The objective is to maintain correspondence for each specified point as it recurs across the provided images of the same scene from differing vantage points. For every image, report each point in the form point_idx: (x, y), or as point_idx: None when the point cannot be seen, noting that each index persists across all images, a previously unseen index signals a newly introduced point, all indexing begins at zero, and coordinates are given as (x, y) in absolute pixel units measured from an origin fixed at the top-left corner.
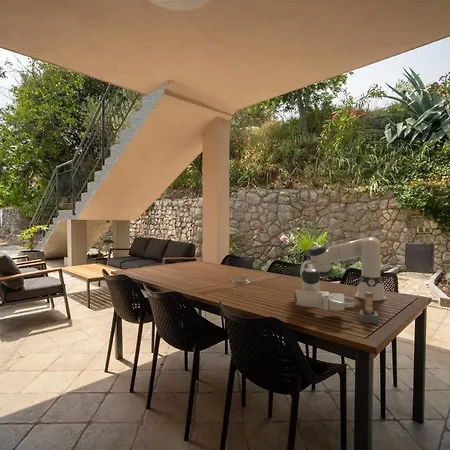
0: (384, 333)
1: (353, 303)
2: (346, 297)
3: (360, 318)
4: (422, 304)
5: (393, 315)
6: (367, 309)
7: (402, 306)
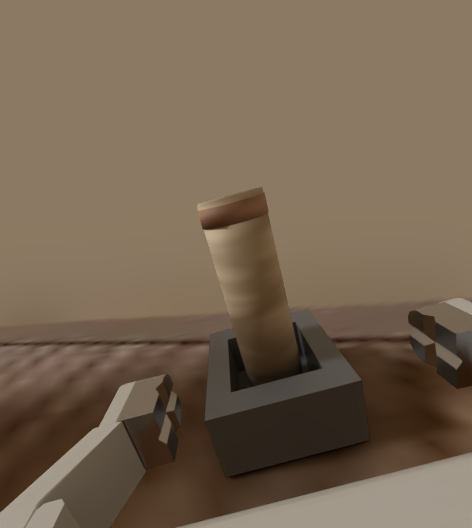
0: None
1: (453, 301)
2: (45, 506)
3: (365, 413)
4: (25, 325)
5: (140, 344)
6: (291, 322)
7: (23, 350)
